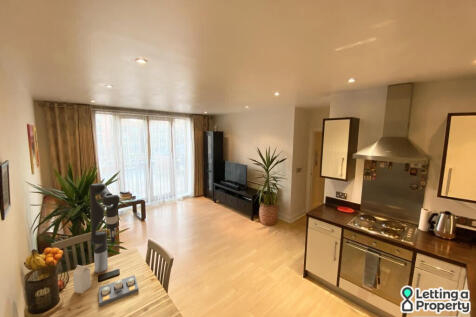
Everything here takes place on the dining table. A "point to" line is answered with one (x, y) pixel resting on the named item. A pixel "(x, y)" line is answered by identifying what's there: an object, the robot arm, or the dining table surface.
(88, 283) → the milk carton
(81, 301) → the dining table surface
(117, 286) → the button
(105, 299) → the button board
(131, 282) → the button
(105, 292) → the button
